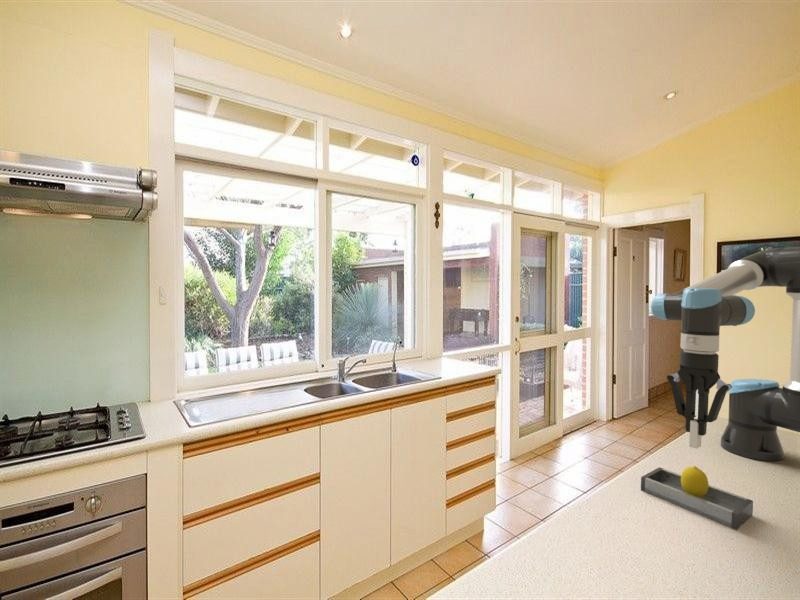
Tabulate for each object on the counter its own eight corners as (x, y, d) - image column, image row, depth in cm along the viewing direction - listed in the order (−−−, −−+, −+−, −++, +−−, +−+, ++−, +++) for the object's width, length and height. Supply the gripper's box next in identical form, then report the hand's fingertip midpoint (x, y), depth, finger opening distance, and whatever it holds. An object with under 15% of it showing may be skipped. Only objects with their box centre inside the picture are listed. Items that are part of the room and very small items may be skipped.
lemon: (683, 501, 97) (684, 469, 96) (677, 490, 102) (678, 459, 101) (711, 506, 95) (712, 473, 94) (703, 494, 100) (704, 463, 99)
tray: (658, 479, 109) (659, 467, 109) (752, 515, 93) (753, 500, 92) (640, 490, 104) (641, 477, 104) (736, 530, 87) (737, 514, 87)
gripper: (662, 348, 100) (658, 440, 101) (726, 357, 89) (721, 460, 90) (675, 346, 104) (672, 434, 105) (738, 354, 93) (734, 452, 94)
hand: (695, 446), depth 97 cm, fingers closed
